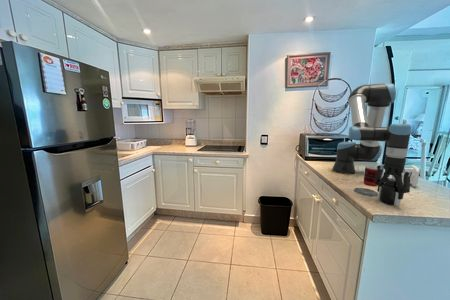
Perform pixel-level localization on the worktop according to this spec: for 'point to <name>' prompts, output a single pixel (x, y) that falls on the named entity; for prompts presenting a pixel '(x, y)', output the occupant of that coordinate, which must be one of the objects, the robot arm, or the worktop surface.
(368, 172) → the canned food
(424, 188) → the worktop surface
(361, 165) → the worktop surface
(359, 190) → the coaster
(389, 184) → the supplement bottle
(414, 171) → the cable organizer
